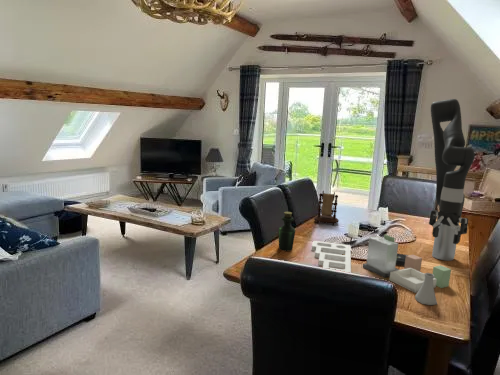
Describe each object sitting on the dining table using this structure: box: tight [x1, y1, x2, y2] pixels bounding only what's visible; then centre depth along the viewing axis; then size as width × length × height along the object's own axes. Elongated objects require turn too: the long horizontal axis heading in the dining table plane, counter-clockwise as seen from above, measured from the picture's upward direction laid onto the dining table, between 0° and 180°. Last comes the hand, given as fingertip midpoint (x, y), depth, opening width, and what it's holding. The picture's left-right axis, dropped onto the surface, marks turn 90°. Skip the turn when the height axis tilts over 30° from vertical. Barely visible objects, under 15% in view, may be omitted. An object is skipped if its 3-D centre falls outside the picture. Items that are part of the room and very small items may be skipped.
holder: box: [311, 240, 352, 274], centre depth 166 cm, size 45×18×3 cm, turn 166°
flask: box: [414, 272, 438, 306], centre depth 133 cm, size 7×7×10 cm
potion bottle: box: [278, 211, 296, 252], centre depth 179 cm, size 8×8×18 cm
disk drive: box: [395, 253, 409, 267], centre depth 172 cm, size 10×3×15 cm
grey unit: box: [362, 234, 400, 279], centre depth 159 cm, size 10×12×15 cm
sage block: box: [431, 264, 452, 289], centre depth 148 cm, size 4×4×7 cm
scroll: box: [313, 190, 339, 226], centre depth 231 cm, size 15×15×20 cm
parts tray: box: [389, 268, 437, 294], centre depth 148 cm, size 12×12×4 cm
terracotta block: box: [403, 254, 423, 272], centre depth 159 cm, size 4×4×7 cm
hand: (445, 240), depth 145 cm, fingers open, 8 cm apart
